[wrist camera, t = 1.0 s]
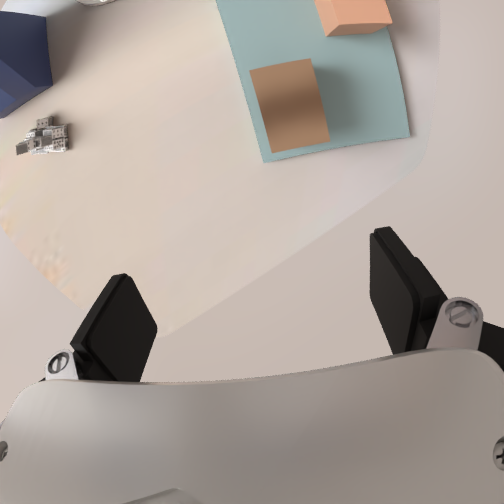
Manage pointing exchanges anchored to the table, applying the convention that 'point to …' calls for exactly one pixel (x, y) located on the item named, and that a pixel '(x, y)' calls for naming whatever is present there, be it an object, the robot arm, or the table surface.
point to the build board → (319, 70)
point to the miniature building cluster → (44, 139)
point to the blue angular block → (22, 59)
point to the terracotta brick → (352, 16)
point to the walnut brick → (290, 105)
